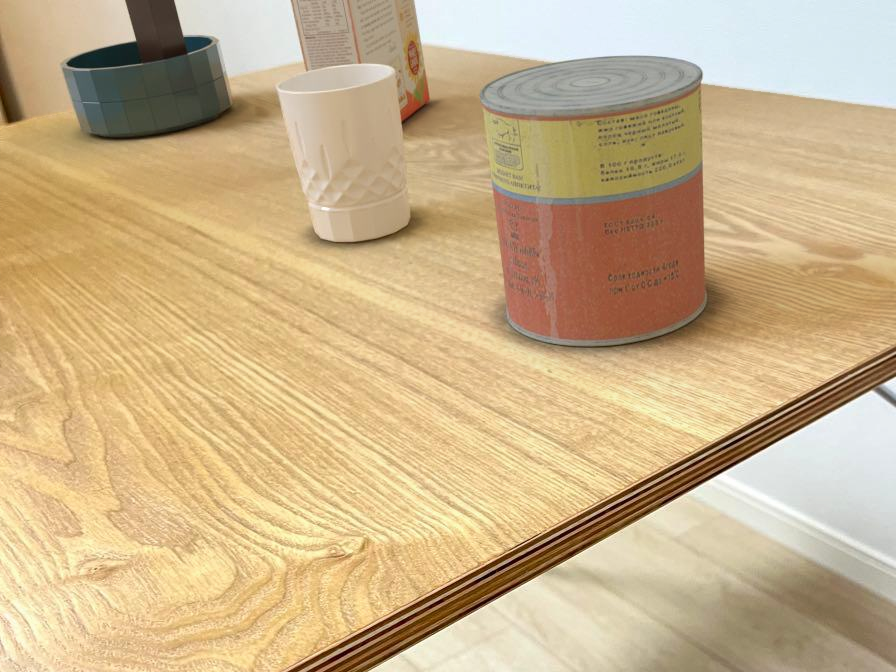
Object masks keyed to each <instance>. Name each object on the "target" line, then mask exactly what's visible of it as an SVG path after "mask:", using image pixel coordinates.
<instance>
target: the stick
mask: <svg viewBox="0 0 896 672" xmlns="http://www.w3.org/2000/svg"><path fill="white" fill-rule="evenodd" d="M124 2H125V5H126V9H127V13H128V17H129V19H130V23H131V24H130V25H131V27H132V30H133V31H132V32H133V34H134V38H135V41H136V42H137V45H138V49H139V52H140V56H141V60H142V63H148V62H153V61H159V60H164V59H168V58H172V57H177V56H181V55H185V54H188V52H187V48H186V44H185V40H184V36H183V35H184V33H183V28H182V25H181V21H180V17H179V13H178V9H177V5H176V1H175V0H124Z"/></svg>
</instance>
